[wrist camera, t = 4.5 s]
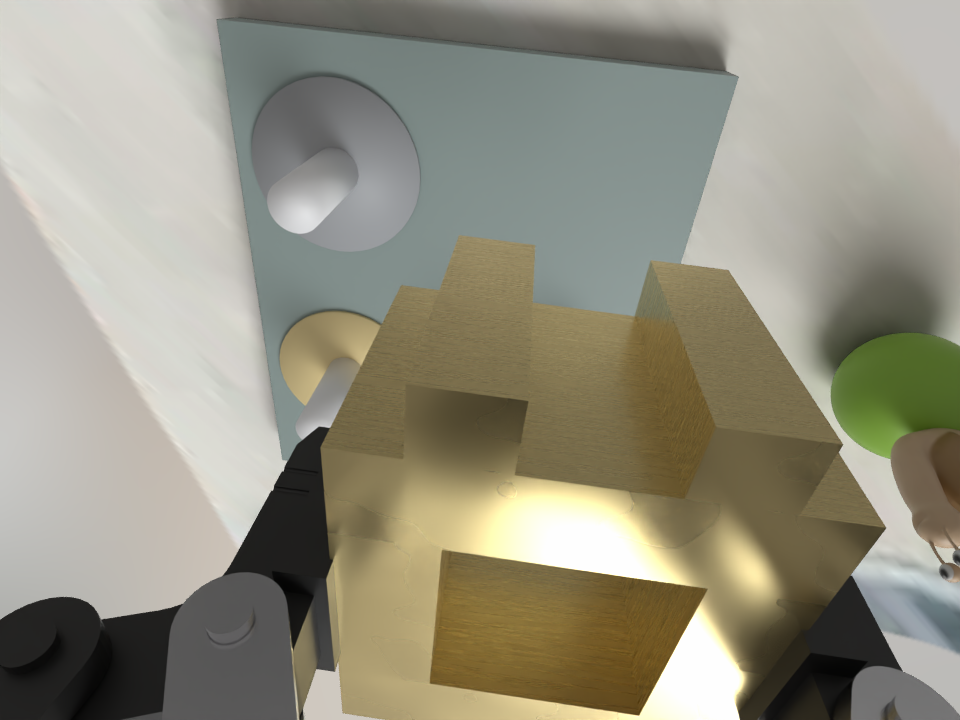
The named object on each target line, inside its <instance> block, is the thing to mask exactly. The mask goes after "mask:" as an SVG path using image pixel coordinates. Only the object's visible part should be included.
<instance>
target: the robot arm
mask: <svg viewBox="0 0 960 720" xmlns="http://www.w3.org/2000/svg"><path fill="white" fill-rule="evenodd" d="M329 429H330V428H327V427H320V426H319V427H318V428H316V429H315V430H314V431H313V432H311V433H310V434H309V435H308V436H307V437H305V438H304V439H303V440H302V441H300V442H299V443H298V444H297V445H296V447H295V449H294V451H293V452H292V454H291V456H290V458H289V460H288V461H287V463H286V465H285V468H284V472H281V474H280V476H279V478H278V480H277V481H276V483H275V485H274V490H273V491H271V492H270V494H269V496H268V498H267V500H266V501H265V503H264V505H263V507H262V509H261V511H260V512H259V514H258V516H257V518H256V520H255V522H254V523H253V525H252V527H251V529H250V531H249V532H248V534H247V536H246V538H245V540H244V542H243V543H242V545H241V547H240V549H239V551H238V552H237V554H236V556H235V558H234V560H233V562H232V563H231V565H230V567H229V568H228V570H227V571H226V572H225V574H224V575H223V576H222V577H219V578H217V579H215V580H212V581H210V582H209V583H207V584H205V585H203V586H202V587H201V588H199V589H198V590H197V591H195V592H194V593H193V594H192V595H191V596H190V597H189V598H188V599H187V600H186V601H185V602H184V603H183V604H181V605H178V606H175V607H172V608H168V609H163V610H159V611H152V612H146V613H140V614H134V615H127V616H121V617H115V618H109V619H103V620H101V619H100V617H99V615H98V613H97V611H96V610H95V609H94V607H92V606H91V605H90V604H89V603H88V602H85V601H83V600H81V599H77V598H72V597H56V598H49V599H45V600H40V601H37V602H34V603H32V604H28V605H26V606H24V607H22V608H20V609H17V610H15V611H14V612H12V613H10V614H8V615H7V616H5V617H4V618H2V619H1V620H0V720H305V713H304V703H305V701H306V698H307V694H308V692H309V689H310V686H311V683H312V680H313V677H314V674H315V671H316V669H321V670H328V671H334V672H335V669H336V667H337V663H338V660H339V657H340V654H341V651H340V638H339V625H338V612H337V599H336V586H335V574H334V561H333V560H331V559H330V555H329V544H328V532H327V520H326V508H325V496H324V484H323V472H322V460H321V448H320V447H321V445H322V443H323V441H324V439H325V437H326V435H327V433H328V431H329ZM738 715H739V719H740V720H960V715H959V714H958V713H957V712H956V710H955V709H954V708H953V707H952V706H951V705H950V704H949V703H948V702H947V701H946V700H945V699H944V698H943V697H942V696H941V695H939V694H938V693H937V692H936V691H934V690H933V689H932V688H931V687H929V686H928V685H926V684H925V683H923V682H922V681H920V680H919V679H917V678H915V677H913V676H912V675H909V674H907V673H905V672H903V671H902V669H901V667H900V666H899V664H898V662H897V660H896V659H895V657H894V655H893V653H892V651H891V649H890V647H889V645H888V643H887V641H886V639H885V637H884V636H883V634H882V632H881V630H880V628H879V626H878V624H877V622H876V620H875V618H874V617H873V615H872V613H871V611H870V609H869V607H868V605H867V603H866V601H865V599H864V597H863V596H862V594H861V592H860V590H859V588H858V586H857V584H856V582H855V580H854V578H853V577H852V576H849V578H848V579H847V580H846V582H845V583H844V584H843V586H842V587H841V588H840V590H839V591H838V592H837V594H836V595H835V596H834V597H833V599H832V600H831V601H830V603H829V604H828V605H827V607H826V608H825V609H824V611H823V612H822V613H821V615H820V616H819V617H818V618H817V620H816V621H815V622H814V624H813V625H812V626H811V628H810V629H809V630H803V629H801V630H800V632H799V633H798V634H797V636H796V637H795V638H794V640H793V641H792V642H791V644H790V645H789V646H788V648H787V649H786V650H785V652H784V653H783V654H782V656H781V657H780V658H779V660H778V661H777V662H776V664H775V665H774V666H773V668H772V669H771V670H770V672H769V673H768V675H767V676H766V677H765V679H764V680H763V681H762V683H761V684H760V685H759V687H758V688H757V689H756V691H755V692H754V693H753V695H752V696H751V697H750V699H749V700H748V701H747V703H746V704H745V705H744V707H743V708H742V709H741V711H740V712H739V713H738Z"/></svg>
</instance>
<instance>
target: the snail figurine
mask: <svg viewBox="0 0 960 720" xmlns="http://www.w3.org/2000/svg"><path fill="white" fill-rule="evenodd" d="M831 403H832V408H833V411H834V414H835V417H836V419H837V421H838V422H839V424H840V426H841V427H842V429H843V430H844V431H845V432H846V433H847V435H848V436H849V437H850V438H852V439H853V440H854V441H855V442H856V443H858V444H859V445H860V446H862V447H863V448H865V449H867V450H869V451H870V452H872V453H875V454H877V455H879V456H882V457H885V458H889V459H891V467H892V471H893V475H894V478H895V481H896V484H897V486H898V489H899V491H900V493H901V496H902V498H903V500H904V501H905V503H906V505H907V506H908V508H909V509H910V511H911V512H912V522H913V526H914V529H915V530H916V532H917V534H918V535H919V536H920V537H921V538H922V539H924V540H925V541H926V542H928V543H929V544H930V546H931V548H932V549H933V551H934V553H935V554H936V556H937V558H938V559H939V561H940V562H941V563H942V565H941V566H940V568H939V573H940V575H941V576H942V578H943V579H945V580H946V581H948V582H959V581H960V568H959V567H958V566H960V549H959V548H958V546H960V346H958V345H957V344H955V343H953V342H951V341H948V340H946V339H943V338H940V337H937V336H933V335H929V334H923V333H896V334H889V335H885V336H881V337H878V338H875V339H873V340H870V341H868V342H866V343H864V344H863V345H861V346H859V347H858V348H856V349H855V350H854V351H852V352H851V353H850V354H849V355H848V356H847V357H846V358H845V359H844V360H843V362H842V363H841V364H840V366H839V367H838V369H837V371H836V373H835V375H834V378H833V381H832V386H831ZM935 546H937V547H941V548H955V550H956V551H954V553H953V560H954V562H955V563H956V564H957V565H958V566H957V565H955V564H953V563H945V562H944V561H943V560H942V558H941V557H940V556H939V554H938V553H937V551H936V549H935Z"/></svg>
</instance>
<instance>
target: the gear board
mask: <svg viewBox="0 0 960 720" xmlns="http://www.w3.org/2000/svg"><path fill="white" fill-rule="evenodd" d="M217 25H218V32H219V39H220V45H221V52H222V59H223V66H224V72H225V79H226V86H227V92H228V99H229V106H230V112H231V119H232V126H233V132H234V139H235V146H236V153H237V159H238V166H239V173H240V179H241V186H242V193H243V199H244V206H245V213H246V219H247V226H248V233H249V240H250V246H251V253H252V260H253V266H254V273H255V280H256V286H257V293H258V300H259V307H260V313H261V320H262V327H263V333H264V340H265V347H266V353H267V360H268V367H269V373H270V380H271V387H272V394H273V400H274V407H275V414H276V420H277V427H278V434H279V440H280V447H281V454H282V460H287V461H288V460H289V458H290V456H291V454H292V452H293V451H294V449H295V447H296V445H297V444H298V443H299V442H300V441H302V440H303V439H304V438H305V437H307V436H308V435H309V434H310V433H311V432H313V431H314V430H315V429H316V428H318V427H319V426H320V427H327V428H330V427H331V425H332V423H333V421H334V419H335V417H336V415H337V413H338V411H339V409H340V407H341V405H342V403H343V401H344V399H345V397H346V395H347V393H348V391H349V389H350V387H351V385H352V383H353V381H354V379H355V377H356V375H357V373H358V371H359V369H360V367H361V365H362V363H363V361H364V359H365V357H366V355H367V353H368V351H369V349H370V347H371V345H372V343H373V341H374V339H375V337H376V335H377V333H378V331H379V329H380V327H381V325H382V323H383V321H384V319H385V317H386V315H387V313H388V311H389V309H390V307H391V305H392V303H393V301H394V299H395V296H396V294H397V292H398V290H399V288H400V286H401V285H404V286H412V287H419V288H427V289H434V290H439V289H440V287H441V284H442V281H443V278H444V276H445V273H446V270H447V267H448V264H449V262H450V259H451V256H452V253H453V251H454V248H455V245H456V242H457V240H458V237H459V235H462V236H470V237H477V238H485V239H493V240H500V241H508V242H516V243H523V244H531V245H535V263H534V286H533V303H539V304H546V305H554V306H561V307H569V308H576V309H584V310H591V311H599V312H606V313H614V314H621V315H629V316H635V313H636V309H637V306H638V302H639V299H640V295H641V292H642V288H643V285H644V281H645V278H646V274H647V271H648V268H649V264H650V261H651V260H654V261H661V262H669V263H677V264H681V260H682V257H683V254H684V251H685V248H686V244H687V241H688V238H689V235H690V232H691V228H692V225H693V222H694V219H695V216H696V212H697V209H698V206H699V203H700V200H701V196H702V193H703V190H704V187H705V183H706V180H707V177H708V174H709V171H710V167H711V164H712V161H713V158H714V155H715V151H716V148H717V145H718V142H719V139H720V135H721V132H722V129H723V126H724V123H725V119H726V116H727V113H728V110H729V106H730V103H731V100H732V97H733V94H734V90H735V87H736V84H737V81H738V78H739V77H738V76H736V75H734V74H731V73H729V72H727V71H718V70H709V69H700V68H691V67H682V66H673V65H663V64H654V63H645V62H636V61H627V60H618V59H609V58H600V57H591V56H581V55H572V54H563V53H554V52H545V51H536V50H527V49H518V48H509V47H499V46H490V45H481V44H472V43H463V42H454V41H445V40H436V39H427V38H417V37H408V36H399V35H390V34H381V33H372V32H363V31H354V30H345V29H335V28H326V27H317V26H308V25H299V24H290V23H281V22H272V21H263V20H253V19H244V18H226V19H217Z"/></svg>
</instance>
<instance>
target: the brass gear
mask: <svg viewBox="0 0 960 720" xmlns="http://www.w3.org/2000/svg"><path fill="white" fill-rule="evenodd" d="M534 263H535V245H531V244H523V243H516V242H508V241H500V240H493V239H485V238H477V237H470V236H462V235H459V237H458V240H457V242H456V245H455V248H454V251H453V253H452V256H451V259H450V262H449V264H448V267H447V270H446V273H445V276H444V278H443V281H442V284H441V287H440V289H439V290H434V289H427V288H419V287H412V286H404V285H401V286H400V288H399V290H398V292H397V294H396V296H395V299H394V301H393V303H392V305H391V307H390V309H389V311H388V313H387V315H386V317H385V319H384V321H383V323H382V325H381V327H380V329H379V331H378V333H377V335H376V337H375V339H374V341H373V343H372V345H371V347H370V349H369V351H368V353H367V355H366V357H365V359H364V361H363V363H362V365H361V367H360V369H359V371H358V373H357V375H356V377H355V379H354V381H353V383H352V385H351V387H350V389H349V391H348V393H347V395H346V397H345V399H344V401H343V403H342V405H341V407H340V409H339V411H338V413H337V415H336V417H335V419H334V421H333V423H332V425H331V427H330V429H329V431H328V433H327V435H326V437H325V439H324V441H323V443H322V445H321V447H320V448H321V460H322V472H323V484H324V496H325V508H326V520H327V532H328V544H329V555H330V559H331V560H333V561H334V574H335V586H336V599H337V612H338V625H339V638H340V651H341V654H340V657H339V660H338V663H339V675H340V687H341V699H342V711H343V713H345V714H352V715H358V716H364V717H371V718H377V719H385V720H740V719H739V715H738V713H739V712H740V711H741V709H742V708H743V707H744V705H745V704H746V703H747V701H748V700H749V699H750V697H751V696H752V695H753V693H754V692H755V691H756V689H757V688H758V687H759V685H760V684H761V683H762V681H763V680H764V679H765V677H766V676H767V675H768V673H769V672H770V670H771V669H772V668H773V666H774V665H775V664H776V662H777V661H778V660H779V658H780V657H781V656H782V654H783V653H784V652H785V650H786V649H787V648H788V646H789V645H790V644H791V642H792V641H793V640H794V638H795V637H796V636H797V634H798V633H799V632H800V630H801V629H803V630H809V629H810V628H811V626H812V625H813V624H814V622H815V621H816V620H817V618H818V617H819V616H820V615H821V613H822V612H823V611H824V609H825V608H826V607H827V605H828V604H829V603H830V601H831V600H832V599H833V597H834V596H835V595H836V594H837V592H838V591H839V590H840V588H841V587H842V586H843V584H844V583H845V582H846V580H847V579H848V578H849V576H850V575H851V574H852V573H853V571H854V570H855V569H856V567H857V566H858V565H859V563H860V562H861V561H862V559H863V558H864V557H865V555H866V554H867V553H868V551H869V550H870V549H871V548H872V546H873V545H874V544H875V542H876V541H877V540H878V538H879V537H880V536H881V534H882V533H883V532H884V530H885V529H886V527H885V525H884V524H883V522H882V520H881V519H880V517H879V516H878V514H877V513H876V511H875V509H874V508H873V506H872V505H871V503H870V502H869V500H868V498H867V497H866V495H865V494H864V492H863V491H862V489H861V487H860V486H859V484H858V483H857V481H856V480H855V478H854V476H853V475H852V473H851V472H850V470H849V469H848V467H847V465H846V464H845V462H844V461H843V459H842V458H841V456H840V454H839V453H838V452H839V451H840V449H841V447H842V446H843V444H842V442H841V441H840V439H839V438H838V436H837V435H836V433H835V432H834V430H833V428H832V427H831V425H830V424H829V422H828V421H827V419H826V418H825V416H824V415H823V413H822V412H821V410H820V409H819V407H818V406H817V404H816V403H815V401H814V400H813V398H812V397H811V395H810V394H809V392H808V391H807V389H806V387H805V386H804V384H803V383H802V381H801V380H800V378H799V377H798V375H797V374H796V372H795V371H794V369H793V368H792V366H791V365H790V363H789V362H788V360H787V359H786V357H785V356H784V354H783V353H782V351H781V349H780V348H779V346H778V345H777V343H776V342H775V340H774V339H773V337H772V336H771V334H770V333H769V331H768V330H767V328H766V327H765V325H764V324H763V322H762V321H761V319H760V318H759V316H758V315H757V313H756V312H755V310H754V308H753V307H752V305H751V304H750V302H749V301H748V299H747V298H746V296H745V295H744V293H743V292H742V290H741V289H740V287H739V286H738V284H737V283H736V281H735V280H734V278H733V277H732V275H731V274H730V272H729V270H723V269H715V268H707V267H700V266H692V265H684V264H677V263H669V262H661V261H654V260H651V261H650V264H649V268H648V271H647V274H646V278H645V281H644V285H643V288H642V292H641V295H640V299H639V302H638V306H637V309H636V313H635V316H629V315H621V314H614V313H606V312H599V311H591V310H584V309H576V308H569V307H561V306H554V305H546V304H539V303H533V286H534Z"/></svg>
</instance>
